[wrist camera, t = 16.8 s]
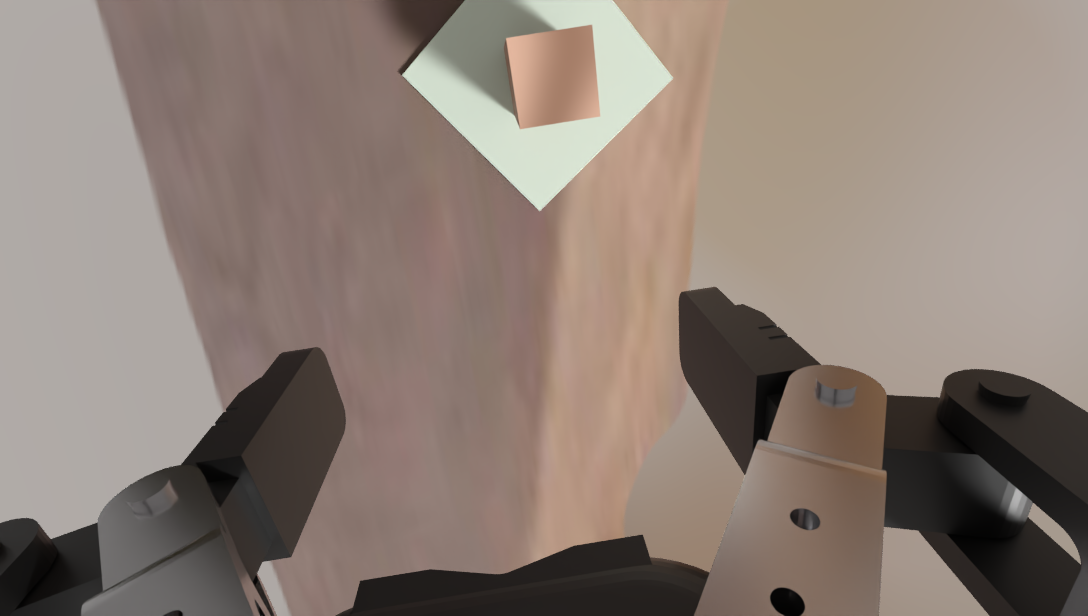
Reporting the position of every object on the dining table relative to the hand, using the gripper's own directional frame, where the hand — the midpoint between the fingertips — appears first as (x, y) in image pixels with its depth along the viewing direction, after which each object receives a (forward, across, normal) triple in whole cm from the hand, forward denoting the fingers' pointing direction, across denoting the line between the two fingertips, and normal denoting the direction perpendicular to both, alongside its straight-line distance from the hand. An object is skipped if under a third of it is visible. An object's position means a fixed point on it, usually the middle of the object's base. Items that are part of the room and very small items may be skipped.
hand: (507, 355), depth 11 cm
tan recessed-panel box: (+28, -4, -5) cm, 28 cm away
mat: (+28, -4, -5) cm, 29 cm away
